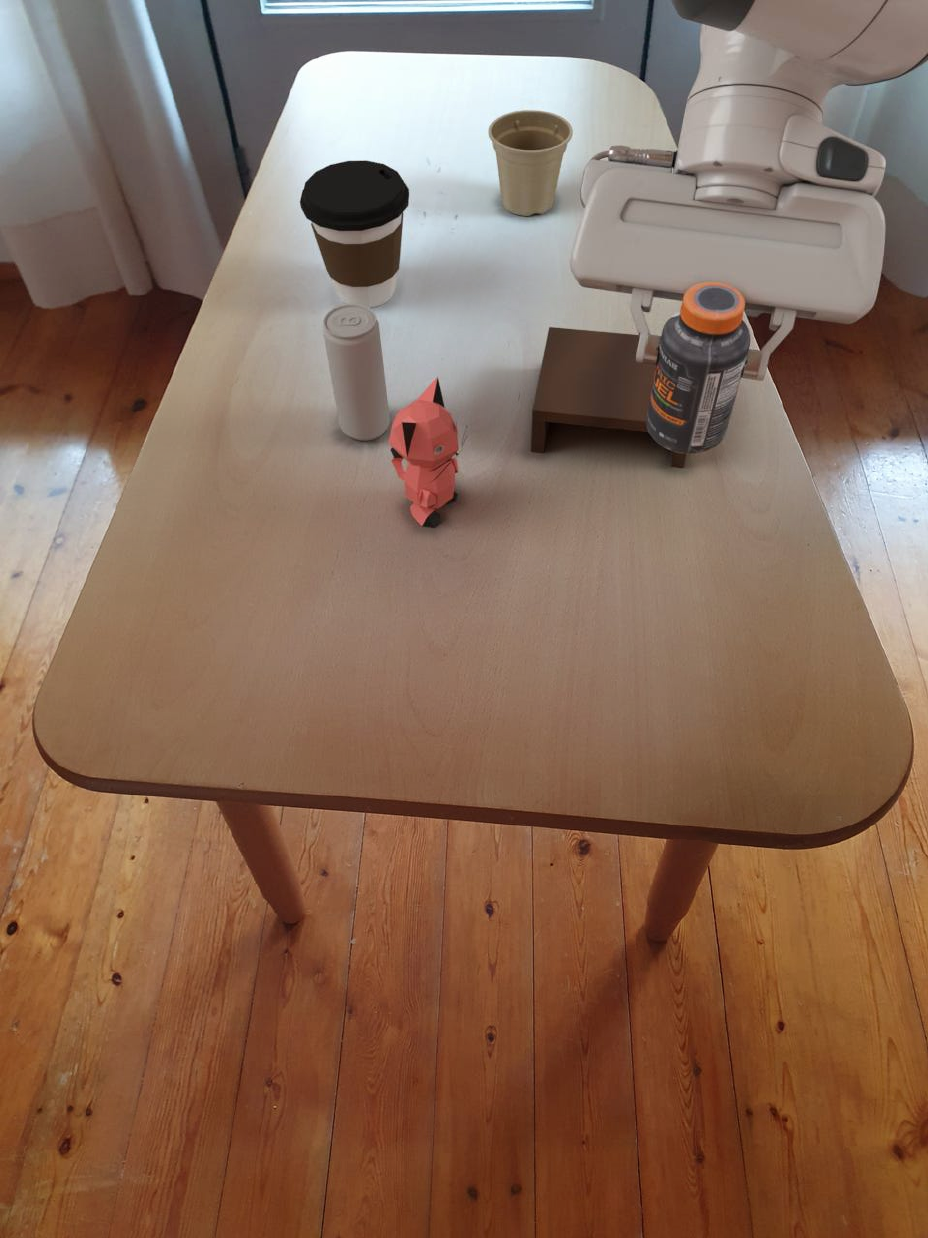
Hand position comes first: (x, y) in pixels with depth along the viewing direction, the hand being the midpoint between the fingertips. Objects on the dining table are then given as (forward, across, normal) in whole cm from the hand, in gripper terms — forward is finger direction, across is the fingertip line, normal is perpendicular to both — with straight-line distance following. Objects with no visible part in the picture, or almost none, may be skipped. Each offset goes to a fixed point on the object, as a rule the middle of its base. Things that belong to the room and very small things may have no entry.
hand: (699, 370), depth 65 cm
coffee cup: (-7, -36, +34) cm, 50 cm away
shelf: (+2, -7, +24) cm, 25 cm away
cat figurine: (+13, -20, +13) cm, 28 cm away
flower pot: (-22, -23, +49) cm, 58 cm away
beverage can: (+8, -29, +19) cm, 36 cm away
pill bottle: (+4, 0, +5) cm, 6 cm away
